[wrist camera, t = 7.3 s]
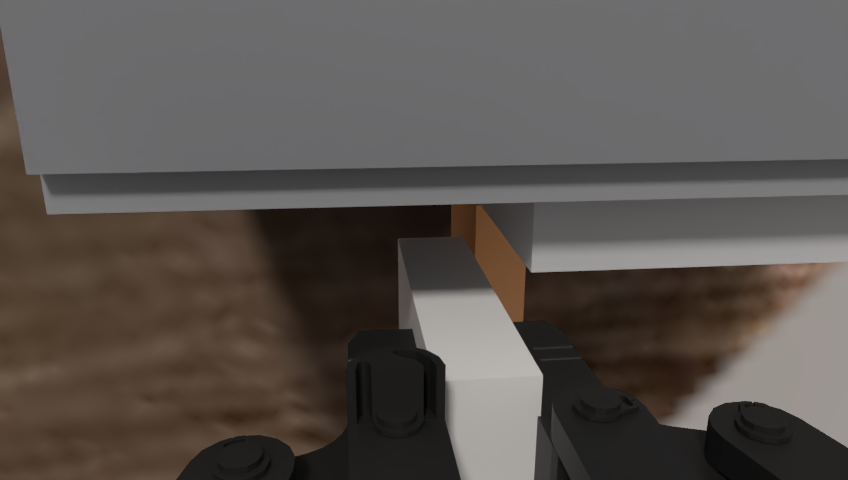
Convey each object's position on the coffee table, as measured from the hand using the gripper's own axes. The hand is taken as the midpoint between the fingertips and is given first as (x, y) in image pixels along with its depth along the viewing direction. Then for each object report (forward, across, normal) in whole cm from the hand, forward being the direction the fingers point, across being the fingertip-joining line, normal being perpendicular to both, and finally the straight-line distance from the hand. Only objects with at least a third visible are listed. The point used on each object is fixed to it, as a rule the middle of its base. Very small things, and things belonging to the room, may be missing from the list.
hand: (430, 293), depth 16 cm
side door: (+4, +4, +1) cm, 6 cm away
